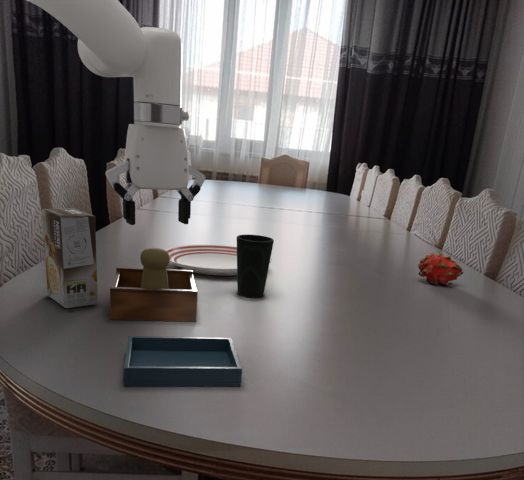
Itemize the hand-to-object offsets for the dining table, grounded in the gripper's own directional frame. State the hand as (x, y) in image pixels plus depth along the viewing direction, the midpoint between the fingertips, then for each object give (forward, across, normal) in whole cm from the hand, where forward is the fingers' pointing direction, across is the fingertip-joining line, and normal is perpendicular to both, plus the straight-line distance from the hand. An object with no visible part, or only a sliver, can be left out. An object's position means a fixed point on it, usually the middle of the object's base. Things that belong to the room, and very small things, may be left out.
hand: (157, 223), depth 91 cm
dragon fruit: (+17, -78, -1) cm, 79 cm away
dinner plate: (+16, -25, -27) cm, 40 cm away
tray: (+15, +6, +27) cm, 31 cm away
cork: (+16, +1, 0) cm, 16 cm away
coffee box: (+16, +14, -8) cm, 22 cm away
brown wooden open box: (+16, +1, 0) cm, 16 cm away
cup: (+16, -22, -4) cm, 27 cm away
